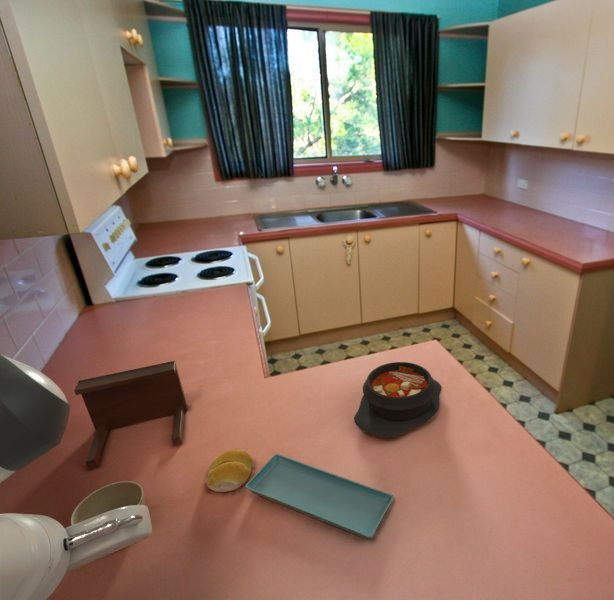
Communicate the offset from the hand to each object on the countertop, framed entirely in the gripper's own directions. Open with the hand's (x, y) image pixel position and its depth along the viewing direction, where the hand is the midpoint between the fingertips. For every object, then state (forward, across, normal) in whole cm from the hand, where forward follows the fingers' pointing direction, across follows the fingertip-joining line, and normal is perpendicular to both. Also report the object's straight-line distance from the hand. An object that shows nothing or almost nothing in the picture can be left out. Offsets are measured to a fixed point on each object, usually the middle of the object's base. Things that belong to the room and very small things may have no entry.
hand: (68, 558), depth 51 cm
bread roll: (+27, -18, -5) cm, 33 cm away
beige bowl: (+24, 0, -2) cm, 24 cm away
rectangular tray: (+18, -31, +6) cm, 37 cm away
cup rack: (+40, -2, -22) cm, 46 cm away
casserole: (+30, -56, -5) cm, 64 cm away
